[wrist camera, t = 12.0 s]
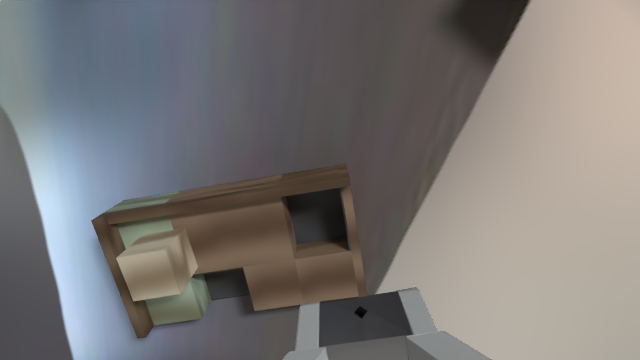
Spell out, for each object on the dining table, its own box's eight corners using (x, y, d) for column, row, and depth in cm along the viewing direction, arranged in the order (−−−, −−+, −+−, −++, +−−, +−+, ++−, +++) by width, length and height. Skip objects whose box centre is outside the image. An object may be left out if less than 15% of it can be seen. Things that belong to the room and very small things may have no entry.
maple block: (142, 235, 38) (116, 258, 33) (185, 227, 38) (165, 249, 33) (156, 274, 39) (133, 301, 35) (198, 267, 39) (180, 293, 34)
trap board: (123, 200, 41) (91, 220, 35) (346, 164, 40) (350, 178, 34) (161, 305, 45) (137, 338, 40) (363, 276, 44) (369, 306, 38)
